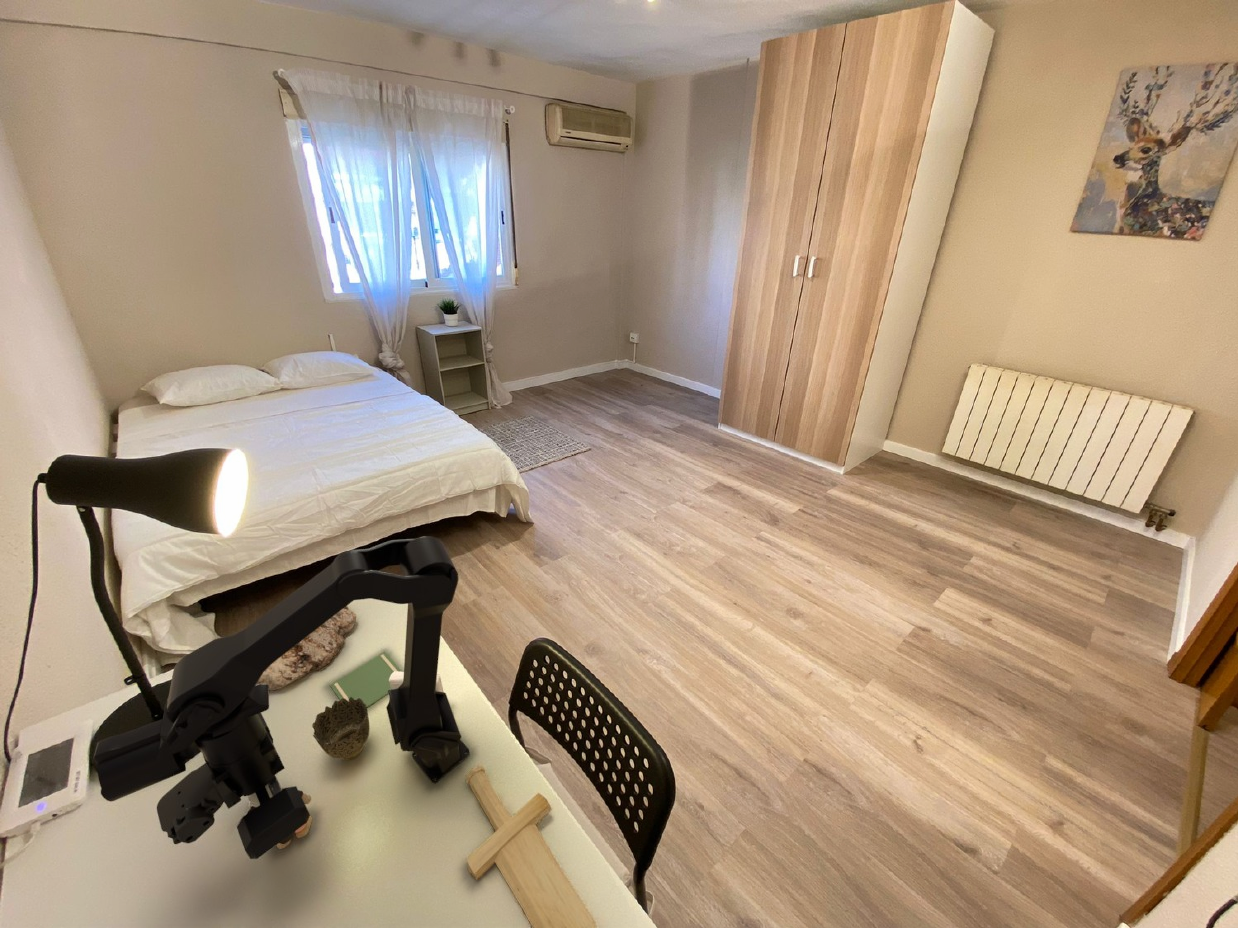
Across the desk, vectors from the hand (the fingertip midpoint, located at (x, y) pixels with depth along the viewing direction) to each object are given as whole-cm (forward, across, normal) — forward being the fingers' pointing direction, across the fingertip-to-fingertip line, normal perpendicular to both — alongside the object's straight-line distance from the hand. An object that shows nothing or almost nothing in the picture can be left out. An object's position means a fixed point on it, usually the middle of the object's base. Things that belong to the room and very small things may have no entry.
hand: (276, 812), depth 67 cm
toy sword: (+3, +12, +22) cm, 25 cm away
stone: (+1, -38, +10) cm, 39 cm away
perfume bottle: (+5, -4, +22) cm, 23 cm away
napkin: (+5, -16, +18) cm, 24 cm away
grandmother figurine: (+5, 0, 0) cm, 5 cm away
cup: (+5, -5, +11) cm, 13 cm away
